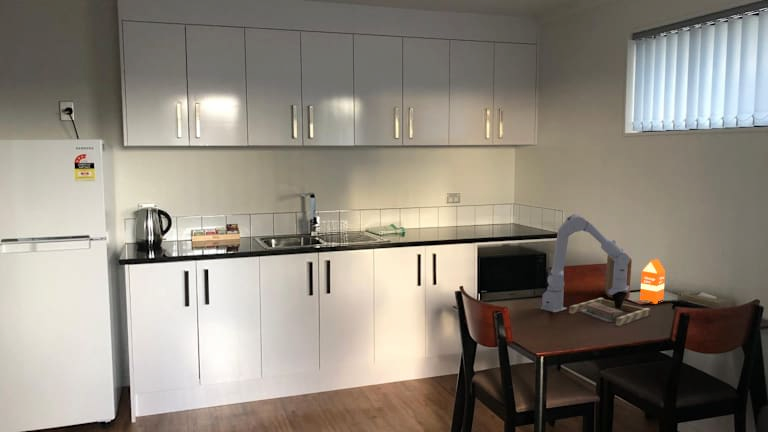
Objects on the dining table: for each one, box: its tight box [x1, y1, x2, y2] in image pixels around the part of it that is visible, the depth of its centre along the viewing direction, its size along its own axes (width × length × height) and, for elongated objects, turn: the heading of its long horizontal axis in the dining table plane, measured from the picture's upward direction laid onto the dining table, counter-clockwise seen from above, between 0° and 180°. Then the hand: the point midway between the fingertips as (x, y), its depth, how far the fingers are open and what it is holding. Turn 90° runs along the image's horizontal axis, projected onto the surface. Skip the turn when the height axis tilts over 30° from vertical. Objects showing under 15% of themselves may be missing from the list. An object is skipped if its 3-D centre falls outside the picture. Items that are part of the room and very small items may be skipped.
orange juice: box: [639, 258, 666, 305], centre depth 299 cm, size 8×9×20 cm
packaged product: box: [580, 302, 624, 323], centre depth 273 cm, size 18×5×10 cm
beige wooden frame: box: [568, 297, 651, 327], centre depth 276 cm, size 26×24×3 cm
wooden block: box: [605, 254, 633, 299], centre depth 307 cm, size 10×10×20 cm
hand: (618, 307), depth 280 cm, fingers closed
